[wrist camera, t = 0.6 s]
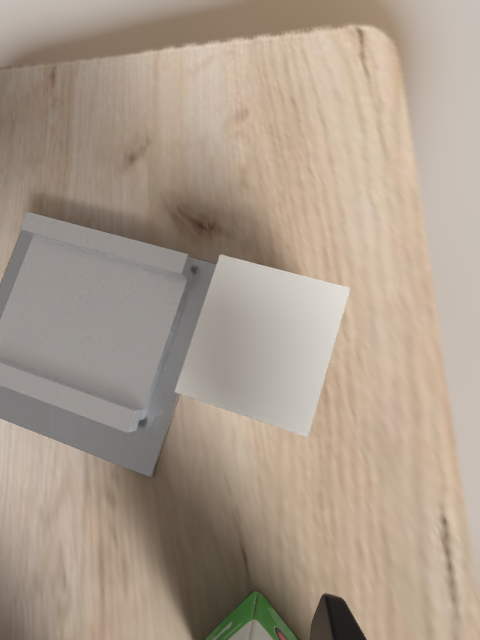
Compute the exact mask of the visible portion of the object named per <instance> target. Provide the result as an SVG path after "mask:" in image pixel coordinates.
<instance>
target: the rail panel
mask: <svg viewBox="0 0 480 640" xmlns="http://www.w3.org/2000/svg"><path fill="white" fill-rule="evenodd" d="M20 229H21V230H22V232H21V234H20V237H19V239H18V242H17V244H16V247H15V249H14V252H13V254H12V257H11V259H10V262H9V264H8V267H7V269H6V272H5V274H4V277H3V279H2V282H1V284H0V418H1V419H3V420H6V421H8V422H11V423H14V424H16V425H19V426H21V427H24V428H26V429H29V430H31V431H34V432H36V433H39V434H41V435H44V436H47V437H49V438H52V439H54V440H57V441H59V442H62V443H64V444H67V445H69V446H72V447H74V448H77V449H80V450H82V451H85V452H87V453H90V454H92V455H95V456H97V457H100V458H102V459H105V460H107V461H110V462H113V463H115V464H118V465H120V466H123V467H125V468H128V469H130V470H133V471H135V472H138V473H140V474H143V475H145V476H148V477H152V476H153V475H154V472H155V469H156V466H157V463H158V460H159V457H160V454H161V451H162V448H163V445H164V442H165V438H166V435H167V432H168V429H169V426H170V423H171V420H172V417H173V414H174V411H175V408H176V405H177V402H178V399H179V396H180V394H179V393H176V392H175V389H176V386H177V383H178V379H179V376H180V373H181V370H182V367H183V364H184V361H185V358H186V355H187V352H188V349H189V346H190V343H191V340H192V337H193V334H194V331H195V328H196V325H197V322H198V319H199V316H200V313H201V310H202V307H203V304H204V301H205V298H206V295H207V292H208V289H209V286H210V283H211V280H212V277H213V274H214V271H215V268H216V265H217V264H214V263H210V262H206V261H202V260H199V259H195V258H191V257H190V256H189V255H188V254H186V253H182V252H178V251H175V250H171V249H167V248H163V247H159V246H156V245H152V244H148V243H144V242H140V241H137V240H133V239H129V238H125V237H122V236H118V235H114V234H110V233H106V232H103V231H99V230H95V229H91V228H87V227H84V226H80V225H76V224H72V223H69V222H65V221H61V220H57V219H53V218H50V217H46V216H42V215H38V214H34V213H31V212H27V213H26V216H25V218H24V221H23V223H22V226H21V228H20Z"/></svg>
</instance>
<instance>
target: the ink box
mask: <svg viewBox="0 0 480 640" xmlns="http://www.w3.org/2000/svg"><path fill="white" fill-rule="evenodd" d="M205 640H298V639H297V638H296V636H295V635H294V633H293V632H292V631H291V630H290V629H289V627H288V626H287V625H286V623H285V622H284V621H283V620H282V618H281V617H280V616H279V615H278V613H277V612H276V611H275V610H274V608H273V607H272V606H271V605H270V603H269V602H268V601H267V600H266V598H265V597H264V596H263V595H262V594H261V593H259V592H257V591H254V592H253V593H252V594H251V595H250V596H249V597H247V598H246V599H245V600H244V601H243V602H242V603H241V604H240V605H239V606H238V607H237V608H236V609H235V610H234V611H232V612H231V613H230V614H229V615H228V616H227V617H226V618H225V619H224V620H223V621H222V622H221V623H220V624H219V625H218V626H217V627H216V628H215V629H214V630H213V631H212V632H211V633H210V634H209V635H208V636H207V637H206V639H205Z"/></svg>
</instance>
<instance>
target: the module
mask: <svg viewBox="0 0 480 640" xmlns="http://www.w3.org/2000/svg"><path fill="white" fill-rule="evenodd" d="M349 291H350V288H348V287H344V286H340V285H337V284H333V283H329V282H325V281H321V280H317V279H314V278H310V277H306V276H302V275H298V274H294V273H290V272H287V271H283V270H279V269H275V268H271V267H267V266H263V265H260V264H256V263H252V262H248V261H244V260H240V259H237V258H233V257H229V256H225V255H221V254H220V256H219V259H218V262H217V265H216V268H215V271H214V274H213V277H212V280H211V283H210V286H209V289H208V292H207V295H206V298H205V301H204V304H203V307H202V310H201V313H200V316H199V319H198V322H197V325H196V328H195V331H194V334H193V337H192V340H191V343H190V346H189V349H188V352H187V355H186V358H185V361H184V364H183V367H182V370H181V373H180V376H179V379H178V383H177V386H176V389H175V392H176V393H179V394H182V395H185V396H188V397H191V398H194V399H197V400H200V401H202V402H205V403H208V404H211V405H214V406H217V407H220V408H223V409H226V410H229V411H232V412H235V413H238V414H240V415H243V416H246V417H249V418H252V419H255V420H258V421H261V422H264V423H267V424H270V425H273V426H276V427H279V428H281V429H284V430H287V431H290V432H293V433H296V434H299V435H302V436H305V437H308V435H309V431H310V428H311V424H312V421H313V417H314V414H315V410H316V407H317V403H318V400H319V396H320V393H321V389H322V386H323V382H324V379H325V375H326V372H327V368H328V365H329V361H330V358H331V354H332V351H333V347H334V344H335V340H336V337H337V333H338V330H339V326H340V323H341V319H342V316H343V312H344V309H345V305H346V302H347V298H348V295H349Z"/></svg>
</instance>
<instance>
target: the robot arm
mask: <svg viewBox="0 0 480 640" xmlns="http://www.w3.org/2000/svg"><path fill="white" fill-rule="evenodd" d="M310 640H367V639H366V638H365V636H364V634H363V632H362V631H361V629H360V627H359V625H358V623H357V622H356V620H355V618H354V616H353V615H352V613H351V611H350V609H349V607H348V606H347V604H346V602H345V601H344V600H343V599H342V598H341V597H338V596H335V595H331V594H327V593H325V594H323V595H322V597H321V599H320V601H319V604H318V607H317V609H316V612H315V614H314V617H313V620H312V624H311V630H310Z"/></svg>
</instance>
